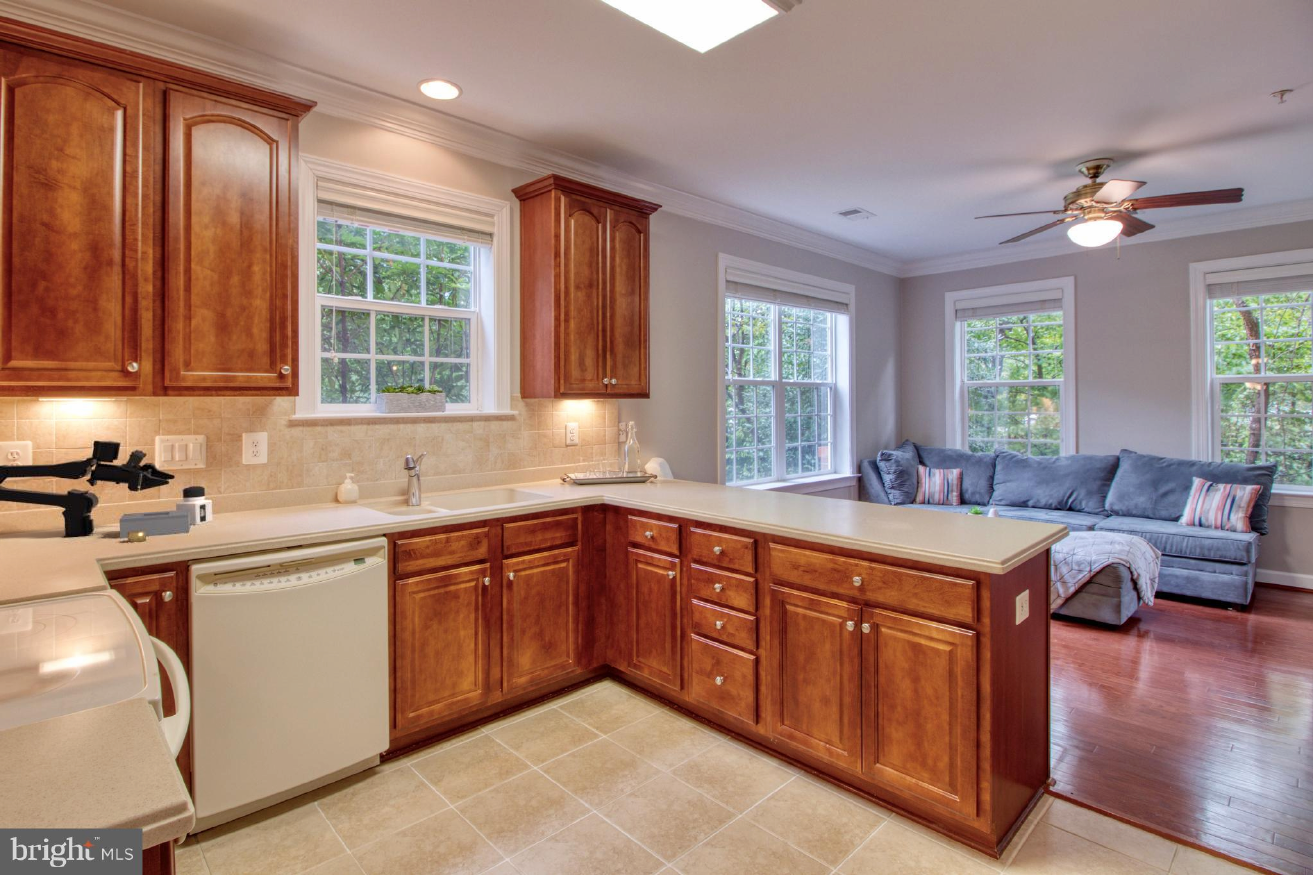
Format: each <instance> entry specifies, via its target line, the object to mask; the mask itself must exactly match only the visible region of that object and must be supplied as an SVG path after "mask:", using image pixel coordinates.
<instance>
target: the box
mask: <svg viewBox="0 0 1313 875" xmlns="http://www.w3.org/2000/svg"><path fill="white" fill-rule="evenodd" d="M189 529H191V525H190V510H176V509H175V510H163V511H151V512H150V511H149V512H136V513H135V512H134V513H123V515H122V516H121V517H120V519H119V539H126V538H127V539H128V532H132V531H146V537H152V536H154V537H155V536H164V535H174V533H178V534H188V533H190V530H189Z"/></svg>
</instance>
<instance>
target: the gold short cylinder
mask: <svg viewBox="0 0 1313 875" xmlns="http://www.w3.org/2000/svg"><path fill="white" fill-rule="evenodd" d="M146 541H147V536H146V531H132V532H128V538H127V543H128V542H130V544H132V543H133V544H135V543H134V542H137V543H143V542H146Z"/></svg>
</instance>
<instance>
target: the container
mask: <svg viewBox="0 0 1313 875" xmlns="http://www.w3.org/2000/svg"><path fill="white" fill-rule="evenodd" d="M182 500H183V501H179V502H176V503H175V510H190V524H191V525H190V526H198V525H203V524H206V522H207V523H211V522H213V502H212V500H210V499H206V490H205V486H202V485H201V486H200V485H199V486H198V485H193V486H192V485H191V486H186V487H183V488H182ZM197 524H198V525H197Z"/></svg>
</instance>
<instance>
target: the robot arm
mask: <svg viewBox="0 0 1313 875" xmlns="http://www.w3.org/2000/svg"><path fill="white" fill-rule="evenodd" d="M92 445H93V449H92V454H91V456H90V457H87V458H86V459H84V460H82V459H80V460H72V461H66V462H61V463H55V464H23V465H22V464H19V465H17V464H16V465H12V464H11V465H9V464H2V465H0V502H10V503H22V504H28V505H29V504H31V505H40V506H41V505H42V506H43V505H44V506H52V507H59V508H62V509H64V510H63V511H62V512H61V514H62V517H63V518H64V535H63V537H64V538H72V537H82V536H83V537H86V536H91V535H92V534H93V533H94V532H95V524H94V523H95V522H94V521H95V520H94V519H93V518H92V514H91V513H92V511H93V509H95V508H96V507H97V506H98V504H99V502H100V501H99V497H98V496H97V495H96V494H95V493H94V492H90V490H89V489H88V490H82V489H81V490H80V489H76V488H73V489H70V490H67V493H58V492H49V491H39V490H28V489H18V488H11V487H10V488H9V487H5V486H2V484H3V483H4V482H5V480H7V479H11V478H40V477H41V478H43V477H46V478H47V477H53V478H59V479H65V480H67V479H68V480H81V479H83V478H86V477H88V476H89V475H90V476H89V478H88V479H86V480H85V481H86V482H87V483H88V484H89V485H90V486H91V487H94V486H97V485H98V482H106V483H107V482H109V483H115V485H121V484H125V485H126V484H127V489H128V490H129V491H130V492H139V491H140V492H141V491H144V490H149V489H153V488H158V487H161V486H167V485H169V484H170V481H169V480H173V479H174V480H175V478H176V477H175V476H176V475H175V474H171V473H169V472H165V471H162V470H159V469H158V468H157V467H156V465H155V464H154V463H152V462H145V463H143V464H142V461H143V460H144V458H146V457H147V454H148V453H146V452H143V450H138V449H135V450H134V451H131V452H130V454H129V457H128V459H127V461H126V462H125V463H121V465H119V464H112V463H114V461H117V460H118V459H119V454H120V448H121V442H118V441H112V440H106V441H105V440H94V441H93V444H92ZM108 463H109V464H108ZM110 463H111V464H110ZM140 464H142V465H140ZM94 466H95V467H94ZM93 467H94V468H93Z"/></svg>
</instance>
